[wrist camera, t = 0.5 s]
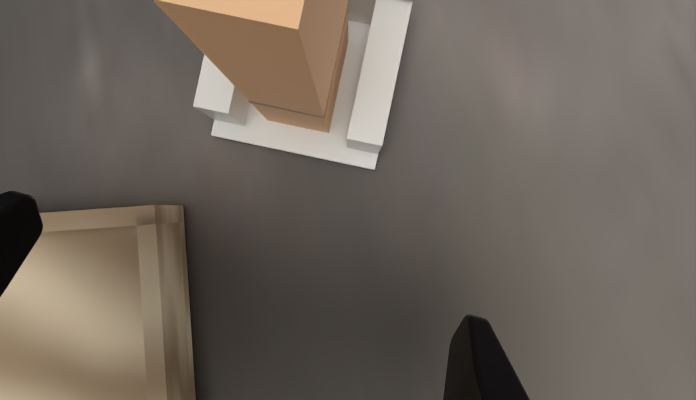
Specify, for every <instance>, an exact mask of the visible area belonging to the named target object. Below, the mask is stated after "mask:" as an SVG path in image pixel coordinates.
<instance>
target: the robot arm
mask: <svg viewBox="0 0 696 400" xmlns="http://www.w3.org/2000/svg"><path fill="white" fill-rule="evenodd" d="M42 230H43V223H42V219H41V216H40V213H39V210H38V207H37V204H36V201H35V199H34V198H33V197H32V196H30V195H27V194H24V193H20V192H16V191H8V192H5V193H2V194H0V297H1V296H2V294H3V293H4V291H5V290H6V288H7V287H8V285H9V284H10V282H11V281H12V279H13V278H14V276H15V274H16V273H17V271H18V270H19V268H20V267H21V265H22V264H23V262H24V260H25V259H26V257H27V256H28V254H29V253H30V251H31V250H32V248H33V246H34V245H35V243H36V242H37V240H38V239H39V237H40V235H41V233H42ZM443 400H530V399H529V397H528V396H527V394H526V392H525V390H524V388H523V386H522V384H521V382H520V380H519V378H518V377H517V375H516V373H515V371H514V369H513V367H512V365H511V363H510V361H509V359H508V358H507V356H506V354H505V352H504V350H503V348H502V346H501V344H500V342H499V340H498V339H497V337H496V335H495V333H494V331H493V329H492V327H491V325H490V323H489V322H488V321H487V320H486V319H484V318H481V317H477V316H473V315H466V316H465V317H464V318H463V320H462V322H461V323H460V325H459V327H458V328H457V330H456V332H455V333H454V335H453V337H452V339H451V343H450V348H449V356H448V365H447V373H446V382H445V390H444V398H443Z"/></svg>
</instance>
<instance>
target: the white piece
mask: <svg viewBox="0 0 696 400" xmlns="http://www.w3.org/2000/svg"><path fill="white" fill-rule="evenodd" d="M412 2H413V0H348V46H347V51H346V55H345V60H344V65H343V69H342V74H341V79H340V83H339V88H338V93H337V98H336V102H335V107H334V112H333V116H332V121H331V126H330V131H329V133H325V132H320V131H316V130H311V129H306V128H301V127H297V126H292V125H287V124H282V123H277V122H273V121H268V120H267V119H266V118H265V117H264V116H263V115H262V114H261V113H260V112H259V111H258V110H257V109H256V108H255V107H254V106H253V105H252V104H251V103H249V101H248V99H247V98H246V97H245V96H244V95H243V94H242V93H241V92H240V91H239V90H238V89H237V88H236V87H235V86H234V85H233V84H232V83H231V82H230V81H229V79H228V78H227V77H226V76H225V75H224V74H223V73H222V72H221V71H220V70H219V69H218V68H217V67H216V66H215V65H214V64H213V63H212V62H211V61H210V60H209V59H208V57H207V56H206V55H205V54H204V59H203V63H202V68H201V72H200V77H199V82H198V86H197V91H196V95H195V100H194V105H193V107H195V108H197V109H198V110H200V111H201V112H203V113H204V114H206V115H207V116H209V117H211V118H212V119H214V123H213V128H212V133H211V135H212V136H214V137H218V138H223V139H228V140H233V141H237V142H242V143H247V144H252V145H256V146H261V147H266V148H271V149H275V150H280V151H285V152H290V153H294V154H299V155H304V156H309V157H313V158H318V159H323V160H328V161H332V162H337V163H342V164H347V165H351V166H356V167H361V168H366V169H370V170H375V166H376V162H377V157H378V153H379V151H380V149H381V147H382V145H383V140H384V135H385V130H386V126H387V121H388V116H389V111H390V107H391V102H392V97H393V92H394V88H395V83H396V78H397V74H398V69H399V64H400V59H401V55H402V50H403V45H404V40H405V36H406V31H407V26H408V21H409V17H410V12H411V7H412Z"/></svg>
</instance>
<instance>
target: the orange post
mask: <svg viewBox="0 0 696 400" xmlns="http://www.w3.org/2000/svg"><path fill="white" fill-rule="evenodd" d="M153 1H154V2H155V3H156V4H157V5H158V6H159V7H160V8H161V9H162V10H163V11H164V12H165V13H166V14H167V16H168V17H169V18H170V19H171V20H172V21H173V22H174V23H175V24H176V25H177V26H178V27H179V28H180V29H181V30H182V31H183V32H184V33H185V34H186V35H187V36H188V38H189V39H190V40H191V41H192V42H193V43H194V44H195V45H196V46H197V47H198V48H199V49H200V50H201V51H202V52H203V53H204V54H205V55H206V56H207V57H208V59H209V60H210V61H211V62H212V63H213V64H214V65H215V66H216V67H217V68H218V69H219V70H220V71H221V72H222V73H223V74H224V75H225V76H226V77H227V78H228V79H229V81H230V82H231V83H232V84H233V85H234V86H235V87H236V88H237V89H238V90H239V91H240V92H241V93H242V94H243V95H244V96H245V97H246V98H247V99H248V101H249V103H251V104H252V105H253V106H254V107H255V108H256V109H257V110H258V111H259V112H260V113H261V114H262V115H263V116H264V117H265V118H266V119H267V120H268V121H273V122H277V123H282V124H287V125H292V126H297V127H301V128H306V129H311V130H316V131H320V132H325V133H329V131H330V126H331V121H332V116H333V112H334V107H335V102H336V98H337V93H338V88H339V83H340V79H341V74H342V69H343V65H344V60H345V55H346V51H347V46H348V0H153Z"/></svg>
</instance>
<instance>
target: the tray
mask: <svg viewBox="0 0 696 400" xmlns="http://www.w3.org/2000/svg"><path fill="white" fill-rule="evenodd" d="M40 216H41V219H42V223H43V230H42V233H41V235H40V237H39V239H38V240H37V242H36V243H35V245H34V246H33V248H32V250H31V251H30V253H29V254H28V256H27V257H26V259H25V260H24V262H23V264H22V265H21V267H20V268H19V270H18V271H17V273H16V274H15V276H14V278H13V279H12V281H11V282H10V284H9V285H8V287H7V288H6V290H5V291H4V293H3V294H2V296H1V297H0V400H196V396H195V381H194V365H193V350H192V334H191V319H190V303H189V288H188V273H187V257H186V242H185V226H184V211H183V205H146V206H132V207H118V208H104V209H90V210H76V211H61V212H47V213H40Z"/></svg>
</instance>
